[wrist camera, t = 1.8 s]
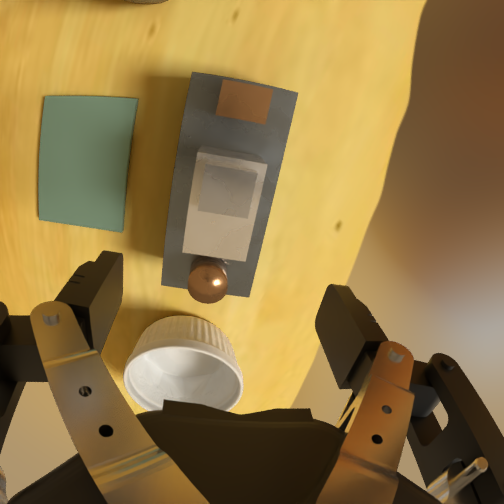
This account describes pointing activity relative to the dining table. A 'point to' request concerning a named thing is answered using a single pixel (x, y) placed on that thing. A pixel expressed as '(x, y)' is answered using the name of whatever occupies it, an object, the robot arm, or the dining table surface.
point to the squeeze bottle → (147, 1)
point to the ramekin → (183, 365)
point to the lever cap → (223, 203)
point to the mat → (85, 160)
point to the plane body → (230, 138)
